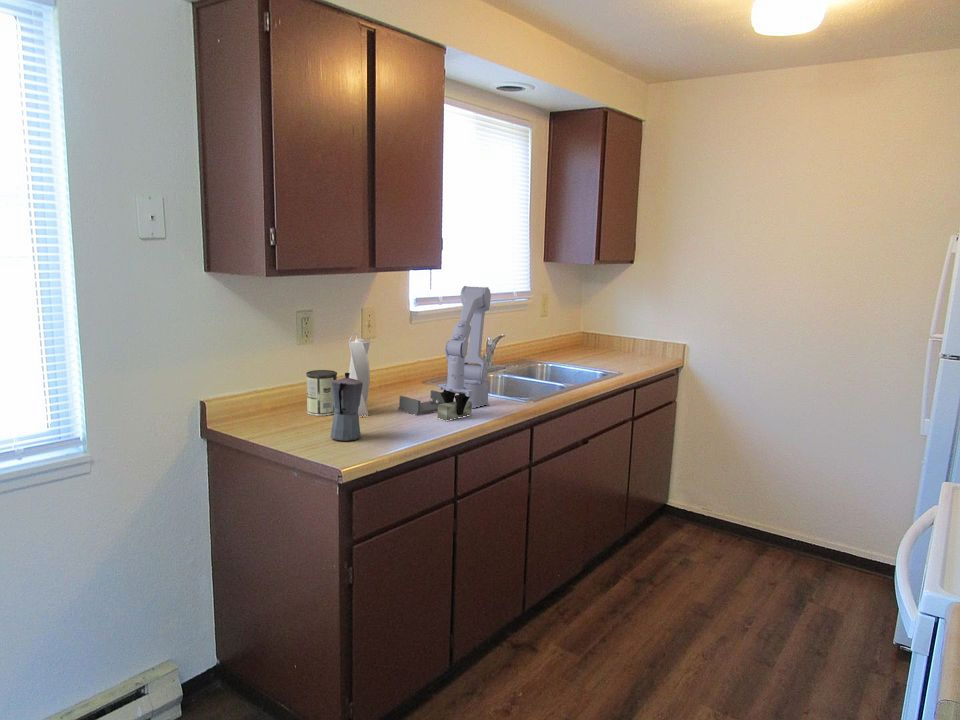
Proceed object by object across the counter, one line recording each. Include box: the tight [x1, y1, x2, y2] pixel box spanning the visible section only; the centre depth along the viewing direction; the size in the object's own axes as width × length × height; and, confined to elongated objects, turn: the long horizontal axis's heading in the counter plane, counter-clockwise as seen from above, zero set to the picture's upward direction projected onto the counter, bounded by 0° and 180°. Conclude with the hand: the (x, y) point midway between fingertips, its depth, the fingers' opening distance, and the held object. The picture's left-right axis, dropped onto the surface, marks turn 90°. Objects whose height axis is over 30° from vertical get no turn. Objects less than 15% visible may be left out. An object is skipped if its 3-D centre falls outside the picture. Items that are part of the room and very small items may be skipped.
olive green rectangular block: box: [437, 400, 472, 421], centre depth 230 cm, size 12×4×5 cm, turn 137°
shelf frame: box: [397, 389, 445, 416], centre depth 240 cm, size 17×10×5 cm, turn 137°
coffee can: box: [305, 369, 338, 417], centre depth 229 cm, size 10×10×14 cm
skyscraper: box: [348, 333, 371, 418], centre depth 227 cm, size 8×8×28 cm
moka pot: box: [329, 372, 363, 442], centre depth 199 cm, size 10×15×20 cm, turn 2°
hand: (454, 413), depth 230 cm, fingers closed on olive green rectangular block, 4 cm apart
